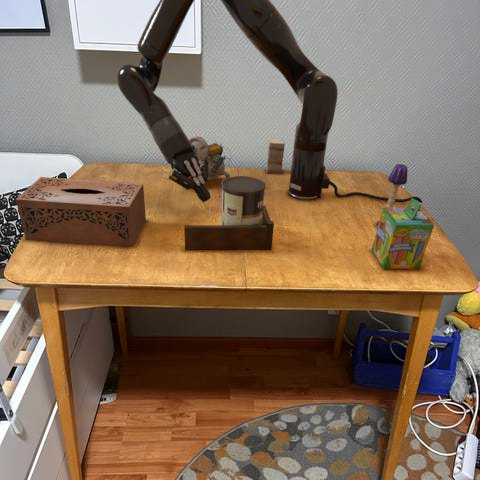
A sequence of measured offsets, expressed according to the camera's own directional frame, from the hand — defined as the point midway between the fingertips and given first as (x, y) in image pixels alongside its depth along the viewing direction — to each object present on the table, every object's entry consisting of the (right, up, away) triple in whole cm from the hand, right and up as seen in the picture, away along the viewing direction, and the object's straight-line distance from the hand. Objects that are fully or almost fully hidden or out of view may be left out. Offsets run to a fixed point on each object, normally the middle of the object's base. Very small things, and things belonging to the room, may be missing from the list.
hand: (207, 199), depth 119 cm
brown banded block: (+20, +19, +38) cm, 47 cm away
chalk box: (+46, -17, -7) cm, 49 cm away
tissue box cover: (-29, -8, -2) cm, 31 cm away
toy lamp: (+48, -6, +7) cm, 49 cm away
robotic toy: (-3, +11, +26) cm, 29 cm away
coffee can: (+9, -10, -2) cm, 13 cm away
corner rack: (+5, -10, -3) cm, 12 cm away
